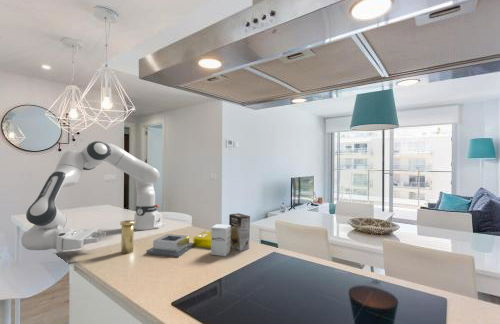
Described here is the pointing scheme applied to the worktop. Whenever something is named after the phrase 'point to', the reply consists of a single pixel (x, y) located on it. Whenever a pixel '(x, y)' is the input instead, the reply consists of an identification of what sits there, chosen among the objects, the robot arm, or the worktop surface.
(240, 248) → the coffee box
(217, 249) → the supplement box
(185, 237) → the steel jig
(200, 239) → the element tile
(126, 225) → the brass bushing
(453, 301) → the worktop surface
